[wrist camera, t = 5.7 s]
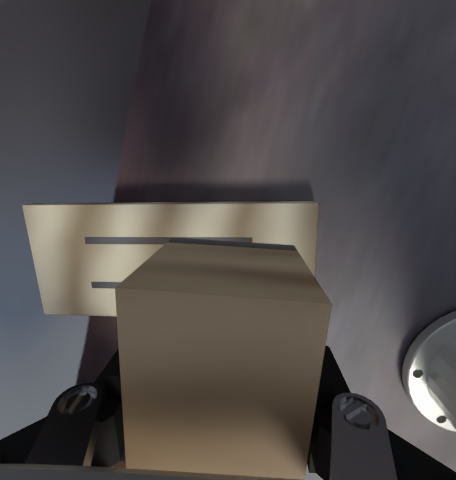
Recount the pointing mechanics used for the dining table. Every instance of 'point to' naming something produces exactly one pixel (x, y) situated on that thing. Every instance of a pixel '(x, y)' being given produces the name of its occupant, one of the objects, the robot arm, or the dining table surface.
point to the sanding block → (221, 358)
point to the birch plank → (144, 241)
